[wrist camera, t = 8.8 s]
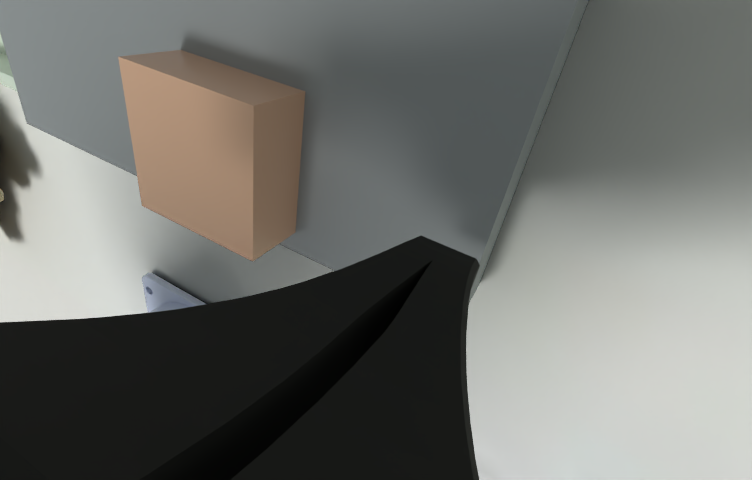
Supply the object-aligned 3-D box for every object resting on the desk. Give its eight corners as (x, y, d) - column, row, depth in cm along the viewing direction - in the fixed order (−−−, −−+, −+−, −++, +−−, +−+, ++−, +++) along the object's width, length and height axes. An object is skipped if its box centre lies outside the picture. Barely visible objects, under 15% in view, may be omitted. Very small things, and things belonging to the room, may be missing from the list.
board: (478, 284, 14) (455, 328, 12) (83, 111, 21) (27, 123, 19) (706, -304, 7) (733, -416, 5) (-5, -298, 13) (-113, -348, 11)
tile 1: (295, 232, 14) (252, 261, 12) (191, 184, 15) (142, 205, 14) (305, 91, 11) (253, 105, 10) (180, 49, 13) (118, 56, 11)
